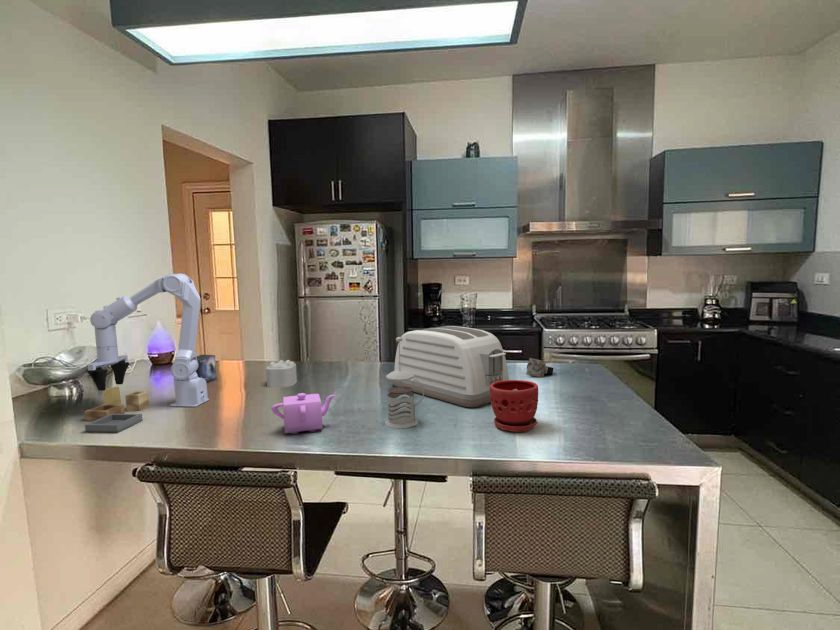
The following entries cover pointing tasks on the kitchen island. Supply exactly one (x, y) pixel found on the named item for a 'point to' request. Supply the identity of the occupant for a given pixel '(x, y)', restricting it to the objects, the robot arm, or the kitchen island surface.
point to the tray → (113, 423)
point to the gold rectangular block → (112, 395)
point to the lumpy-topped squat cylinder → (281, 374)
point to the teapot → (302, 412)
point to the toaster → (452, 363)
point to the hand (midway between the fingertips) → (110, 387)
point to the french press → (401, 399)
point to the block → (137, 401)
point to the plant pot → (514, 404)
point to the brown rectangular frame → (103, 411)
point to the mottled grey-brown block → (538, 368)
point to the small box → (206, 367)
